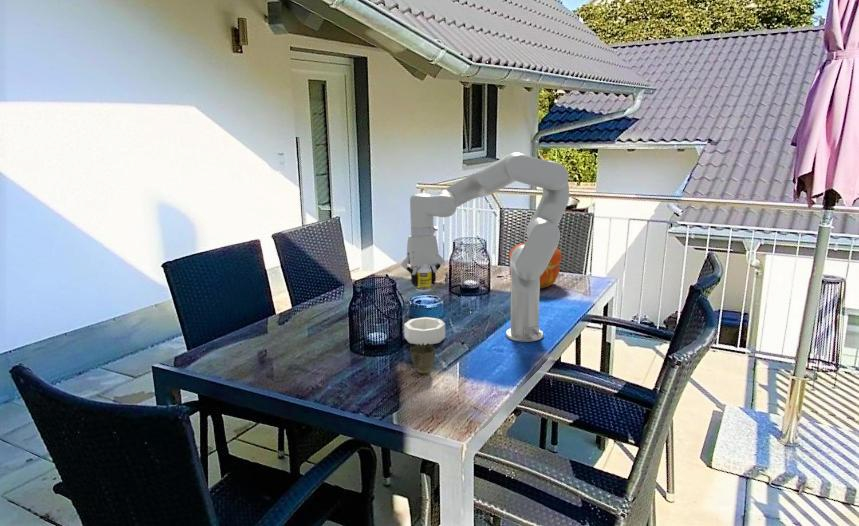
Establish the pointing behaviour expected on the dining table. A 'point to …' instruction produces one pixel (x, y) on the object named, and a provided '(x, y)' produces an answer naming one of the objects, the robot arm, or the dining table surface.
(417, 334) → the white round bowl
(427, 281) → the supplement bottle
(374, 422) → the dining table surface
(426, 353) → the cup
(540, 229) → the robot arm
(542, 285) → the pumpkin
